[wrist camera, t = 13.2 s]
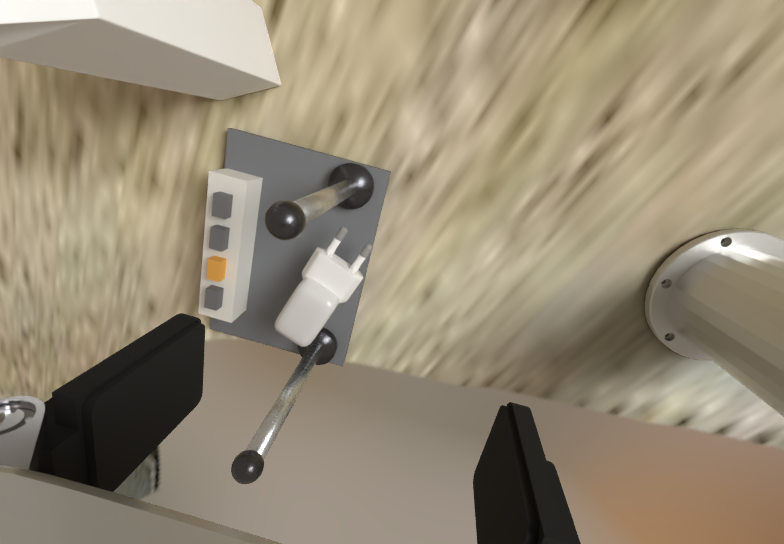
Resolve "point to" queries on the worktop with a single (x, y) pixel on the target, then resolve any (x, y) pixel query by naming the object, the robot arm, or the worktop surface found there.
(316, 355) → the cord post
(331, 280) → the power adapter
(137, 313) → the worktop surface
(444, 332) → the worktop surface
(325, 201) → the cord post
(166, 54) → the milk
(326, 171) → the mat
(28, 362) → the worktop surface
